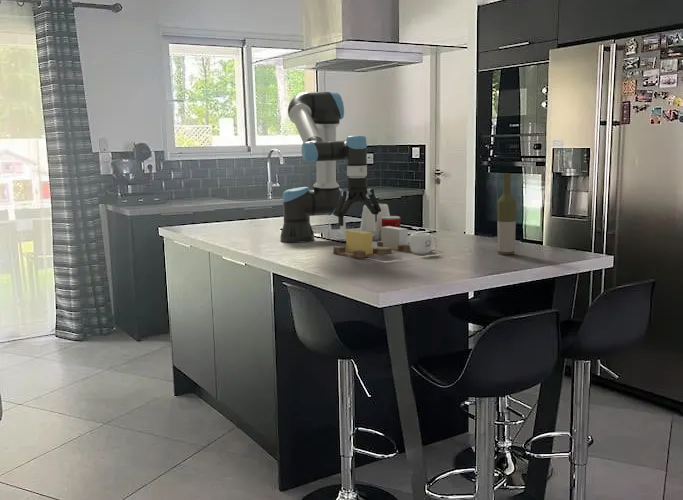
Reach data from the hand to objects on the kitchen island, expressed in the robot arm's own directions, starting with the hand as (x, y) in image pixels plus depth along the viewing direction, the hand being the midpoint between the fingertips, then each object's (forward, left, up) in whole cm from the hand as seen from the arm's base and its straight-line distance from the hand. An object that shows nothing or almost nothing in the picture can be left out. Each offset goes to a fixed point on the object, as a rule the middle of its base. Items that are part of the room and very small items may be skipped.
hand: (358, 232), depth 264 cm
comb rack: (0, +6, -8) cm, 10 cm away
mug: (+15, +20, -9) cm, 27 cm away
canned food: (-17, +28, -9) cm, 34 cm away
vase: (-31, +30, -9) cm, 44 cm away
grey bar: (0, +17, -8) cm, 18 cm away
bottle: (+36, +42, -9) cm, 56 cm away
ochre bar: (0, 0, -8) cm, 8 cm away
